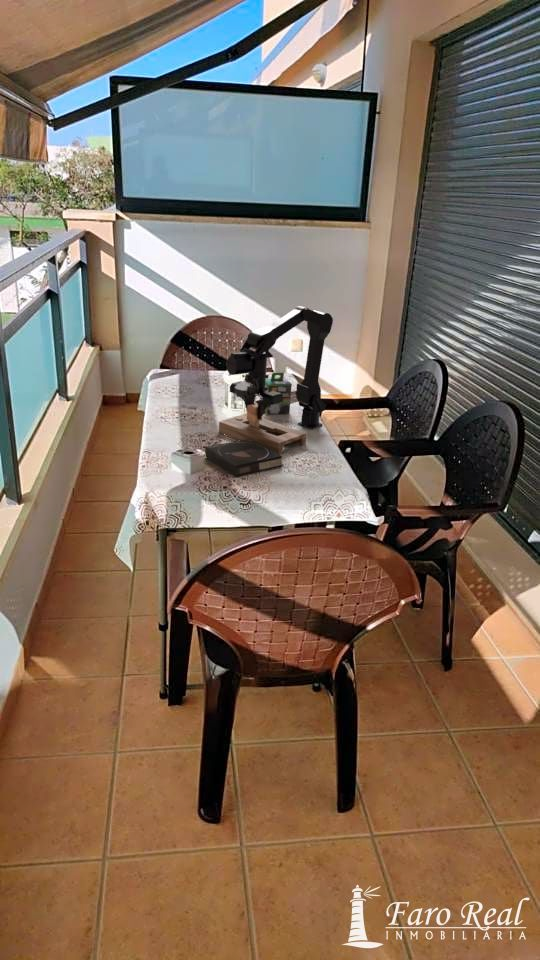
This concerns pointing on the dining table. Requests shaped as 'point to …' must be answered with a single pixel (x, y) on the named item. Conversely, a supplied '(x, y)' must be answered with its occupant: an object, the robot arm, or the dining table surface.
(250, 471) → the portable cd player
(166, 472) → the dining table surface
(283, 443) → the keyhole plate
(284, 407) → the chalk box
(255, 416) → the copper peg
